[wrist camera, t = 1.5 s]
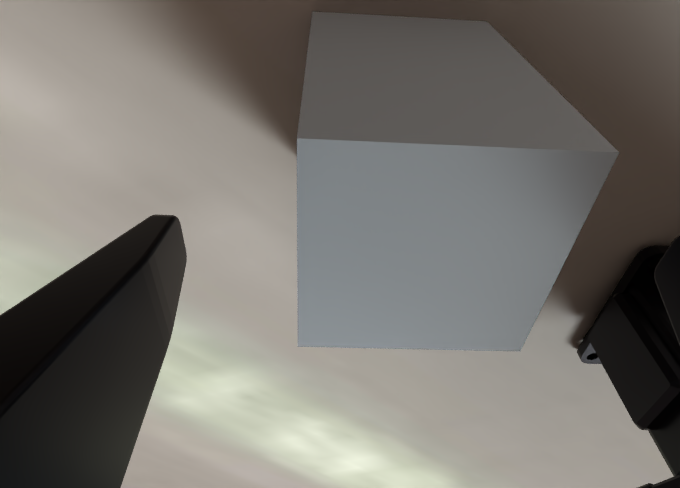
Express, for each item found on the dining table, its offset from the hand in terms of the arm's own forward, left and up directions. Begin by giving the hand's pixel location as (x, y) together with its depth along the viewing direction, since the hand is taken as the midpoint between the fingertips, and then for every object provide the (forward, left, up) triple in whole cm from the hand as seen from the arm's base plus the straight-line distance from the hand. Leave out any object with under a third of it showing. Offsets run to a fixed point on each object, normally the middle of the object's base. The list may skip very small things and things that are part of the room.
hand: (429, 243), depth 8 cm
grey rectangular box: (0, 0, -6) cm, 6 cm away
